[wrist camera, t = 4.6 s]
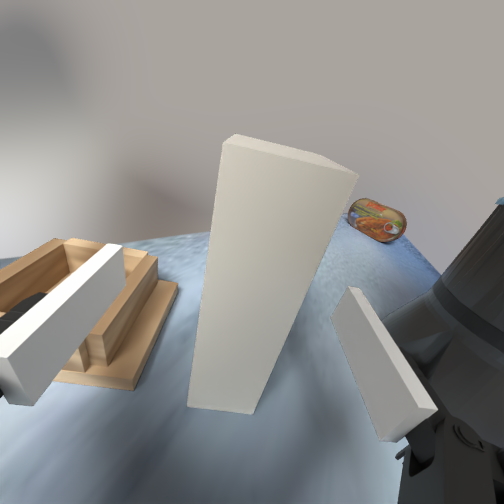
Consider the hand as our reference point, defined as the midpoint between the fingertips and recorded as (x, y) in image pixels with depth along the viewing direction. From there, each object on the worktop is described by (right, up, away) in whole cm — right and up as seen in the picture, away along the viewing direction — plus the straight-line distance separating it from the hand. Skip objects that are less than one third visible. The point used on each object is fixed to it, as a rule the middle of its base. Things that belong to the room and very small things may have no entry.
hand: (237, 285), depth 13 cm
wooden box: (-15, -4, +7) cm, 17 cm away
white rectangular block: (-1, -8, +6) cm, 10 cm away
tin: (+32, +7, +47) cm, 57 cm away
